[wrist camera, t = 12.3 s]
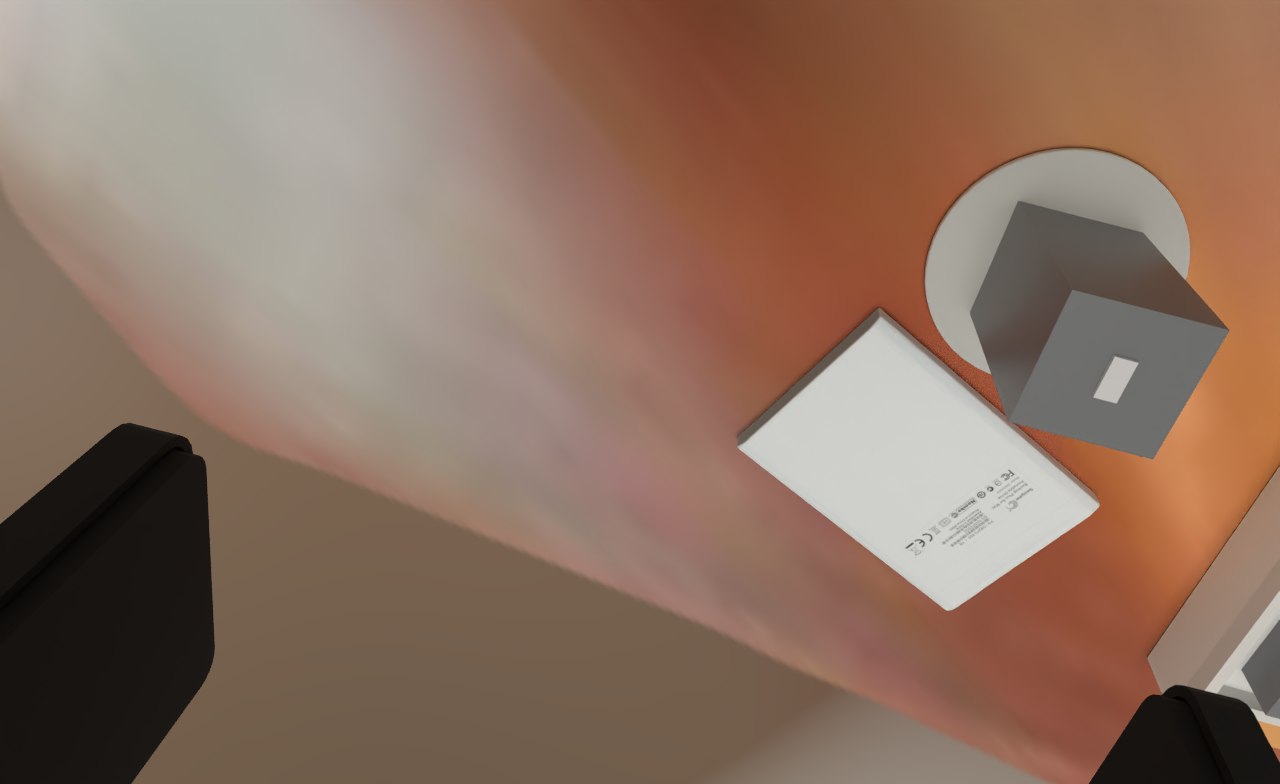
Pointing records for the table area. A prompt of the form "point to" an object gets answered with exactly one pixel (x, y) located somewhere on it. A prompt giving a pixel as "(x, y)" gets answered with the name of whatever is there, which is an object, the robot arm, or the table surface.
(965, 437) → the external hard drive
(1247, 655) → the power strip
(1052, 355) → the charger
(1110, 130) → the table surface
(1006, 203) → the coaster
